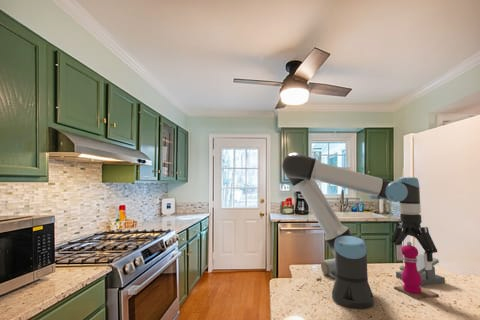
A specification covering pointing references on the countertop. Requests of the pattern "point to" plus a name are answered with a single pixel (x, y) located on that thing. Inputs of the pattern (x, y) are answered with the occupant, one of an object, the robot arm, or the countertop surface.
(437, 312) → the countertop surface
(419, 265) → the breaker rocker
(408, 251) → the pepper mill
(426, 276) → the switch housing
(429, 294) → the coaster
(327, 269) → the ceramic mug
